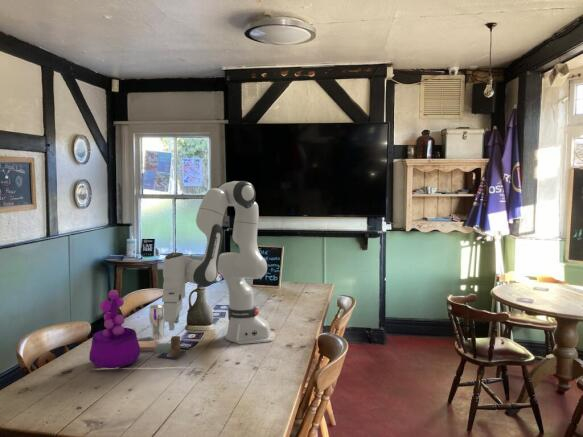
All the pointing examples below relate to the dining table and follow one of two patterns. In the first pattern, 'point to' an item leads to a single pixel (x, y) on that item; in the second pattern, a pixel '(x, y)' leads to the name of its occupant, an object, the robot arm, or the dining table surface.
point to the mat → (159, 349)
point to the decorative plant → (114, 338)
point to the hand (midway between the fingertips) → (174, 326)
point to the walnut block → (175, 346)
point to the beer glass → (157, 321)
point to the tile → (148, 345)
